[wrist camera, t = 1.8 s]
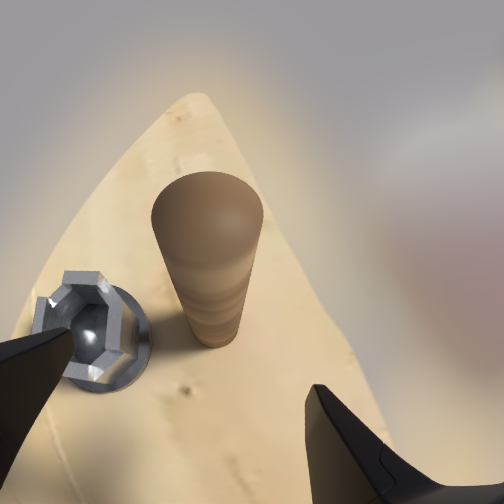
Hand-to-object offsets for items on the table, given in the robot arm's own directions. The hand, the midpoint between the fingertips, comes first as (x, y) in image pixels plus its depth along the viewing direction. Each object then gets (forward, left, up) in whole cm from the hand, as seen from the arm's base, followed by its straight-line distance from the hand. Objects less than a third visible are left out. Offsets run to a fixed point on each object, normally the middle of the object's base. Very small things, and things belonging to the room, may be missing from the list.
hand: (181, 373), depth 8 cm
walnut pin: (+5, -1, -11) cm, 12 cm away
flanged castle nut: (+3, +8, -11) cm, 15 cm away
